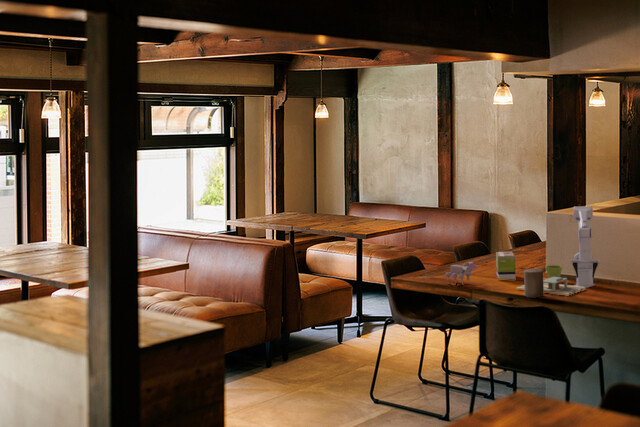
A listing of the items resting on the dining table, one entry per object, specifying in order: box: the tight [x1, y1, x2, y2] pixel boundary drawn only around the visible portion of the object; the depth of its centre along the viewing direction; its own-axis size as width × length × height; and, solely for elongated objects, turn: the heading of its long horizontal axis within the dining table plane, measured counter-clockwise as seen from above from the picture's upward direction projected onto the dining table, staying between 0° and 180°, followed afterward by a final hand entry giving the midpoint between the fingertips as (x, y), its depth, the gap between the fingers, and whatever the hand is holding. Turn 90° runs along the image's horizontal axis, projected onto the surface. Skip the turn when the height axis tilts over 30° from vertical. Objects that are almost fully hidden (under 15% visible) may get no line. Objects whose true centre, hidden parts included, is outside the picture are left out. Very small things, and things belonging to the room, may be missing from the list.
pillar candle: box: [523, 268, 544, 299], centre depth 417 cm, size 10×10×15 cm
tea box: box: [495, 251, 517, 281], centre depth 467 cm, size 15×10×15 cm, turn 172°
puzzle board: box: [516, 283, 586, 297], centre depth 431 cm, size 20×30×2 cm, turn 46°
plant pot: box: [544, 264, 563, 279], centre depth 452 cm, size 9×9×9 cm
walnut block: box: [548, 282, 560, 290], centre depth 427 cm, size 4×4×5 cm
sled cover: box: [543, 276, 568, 291], centre depth 427 cm, size 14×8×6 cm, turn 136°
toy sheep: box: [444, 261, 479, 283], centre depth 454 cm, size 20×11×14 cm, turn 46°
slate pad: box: [560, 287, 578, 292], centre depth 422 cm, size 7×7×1 cm
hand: (585, 277), depth 409 cm, fingers open, 7 cm apart
